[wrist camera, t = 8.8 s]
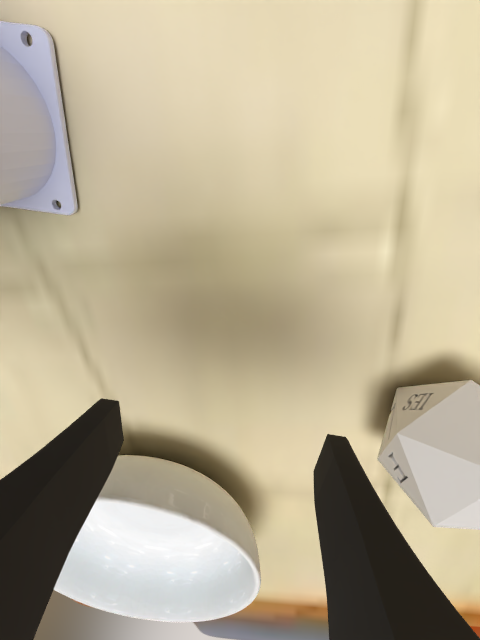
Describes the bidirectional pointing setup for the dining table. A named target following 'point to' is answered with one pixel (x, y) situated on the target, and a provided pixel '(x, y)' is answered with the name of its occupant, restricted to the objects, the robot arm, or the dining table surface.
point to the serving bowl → (163, 546)
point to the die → (437, 450)
